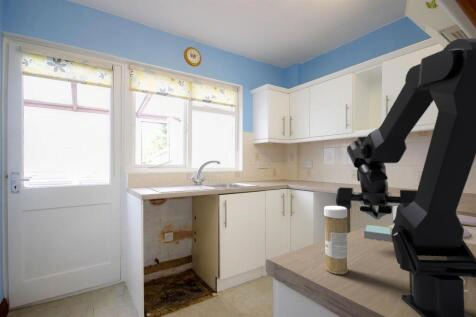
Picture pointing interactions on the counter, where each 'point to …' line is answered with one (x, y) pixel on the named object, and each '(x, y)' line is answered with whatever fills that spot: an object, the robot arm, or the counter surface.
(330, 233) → the sprinkles bottle
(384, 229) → the tile
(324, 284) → the counter surface
